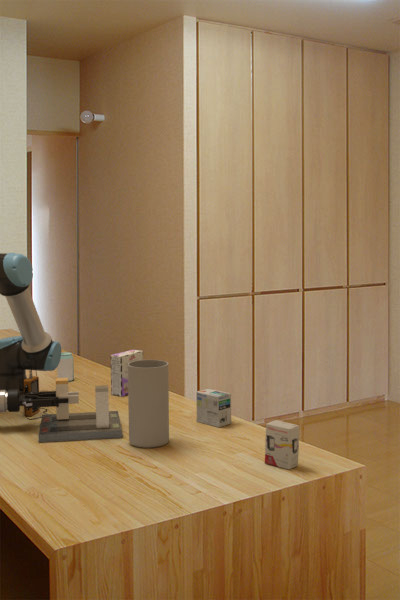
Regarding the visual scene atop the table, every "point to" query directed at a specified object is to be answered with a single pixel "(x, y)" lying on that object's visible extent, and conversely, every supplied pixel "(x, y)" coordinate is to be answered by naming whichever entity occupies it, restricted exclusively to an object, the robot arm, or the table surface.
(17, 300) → the robot arm
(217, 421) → the light bulb box
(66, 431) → the dual slider panel
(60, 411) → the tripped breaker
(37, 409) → the multimeter
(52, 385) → the table surface
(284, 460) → the ink box
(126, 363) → the candy box
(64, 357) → the can
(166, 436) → the cylinder vase
